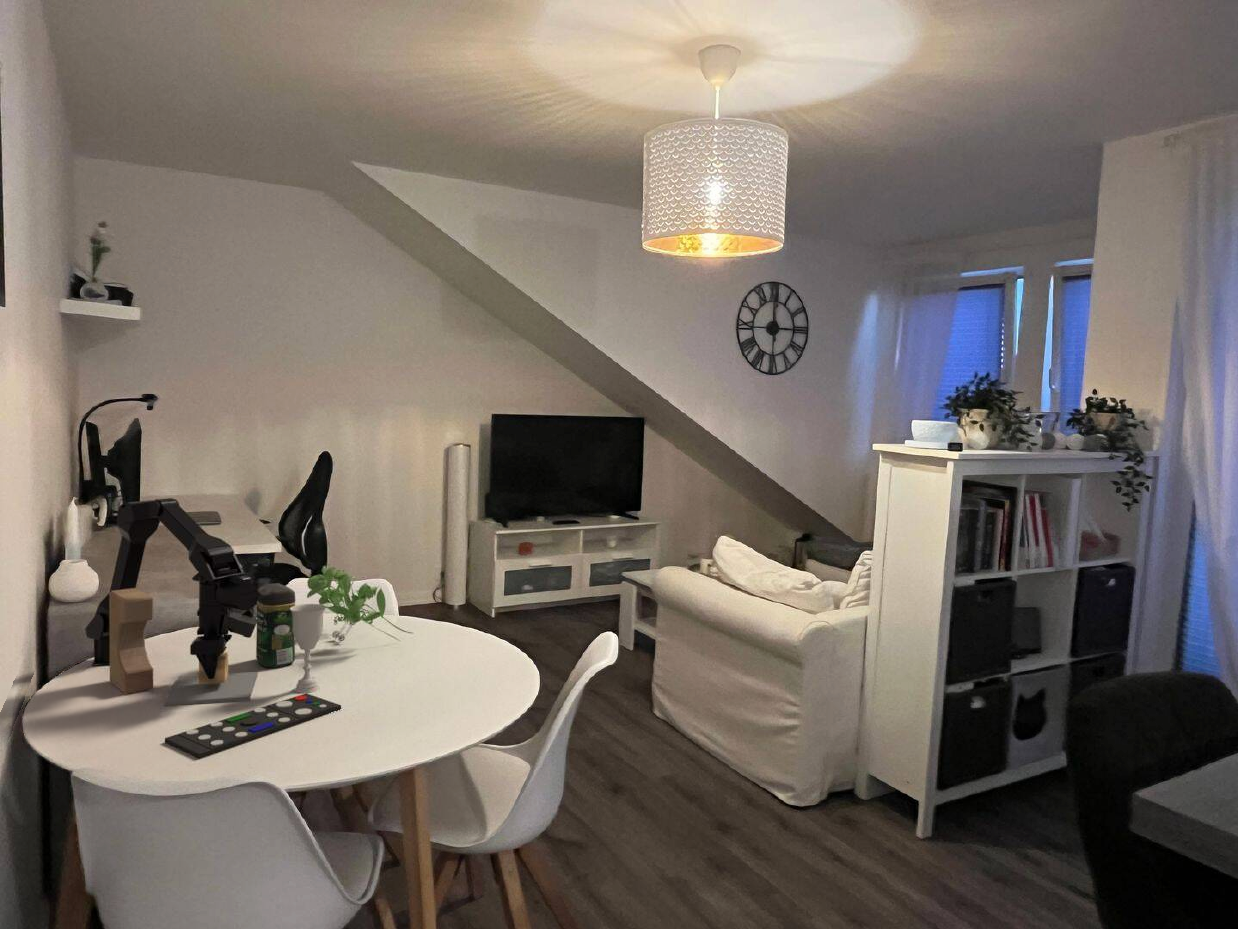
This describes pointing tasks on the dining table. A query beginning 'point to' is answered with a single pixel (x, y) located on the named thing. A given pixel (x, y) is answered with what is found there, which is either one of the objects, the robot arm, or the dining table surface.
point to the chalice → (307, 639)
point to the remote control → (251, 725)
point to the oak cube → (220, 671)
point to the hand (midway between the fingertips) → (213, 674)
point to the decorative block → (129, 640)
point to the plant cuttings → (346, 599)
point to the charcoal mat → (211, 689)
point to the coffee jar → (275, 626)
